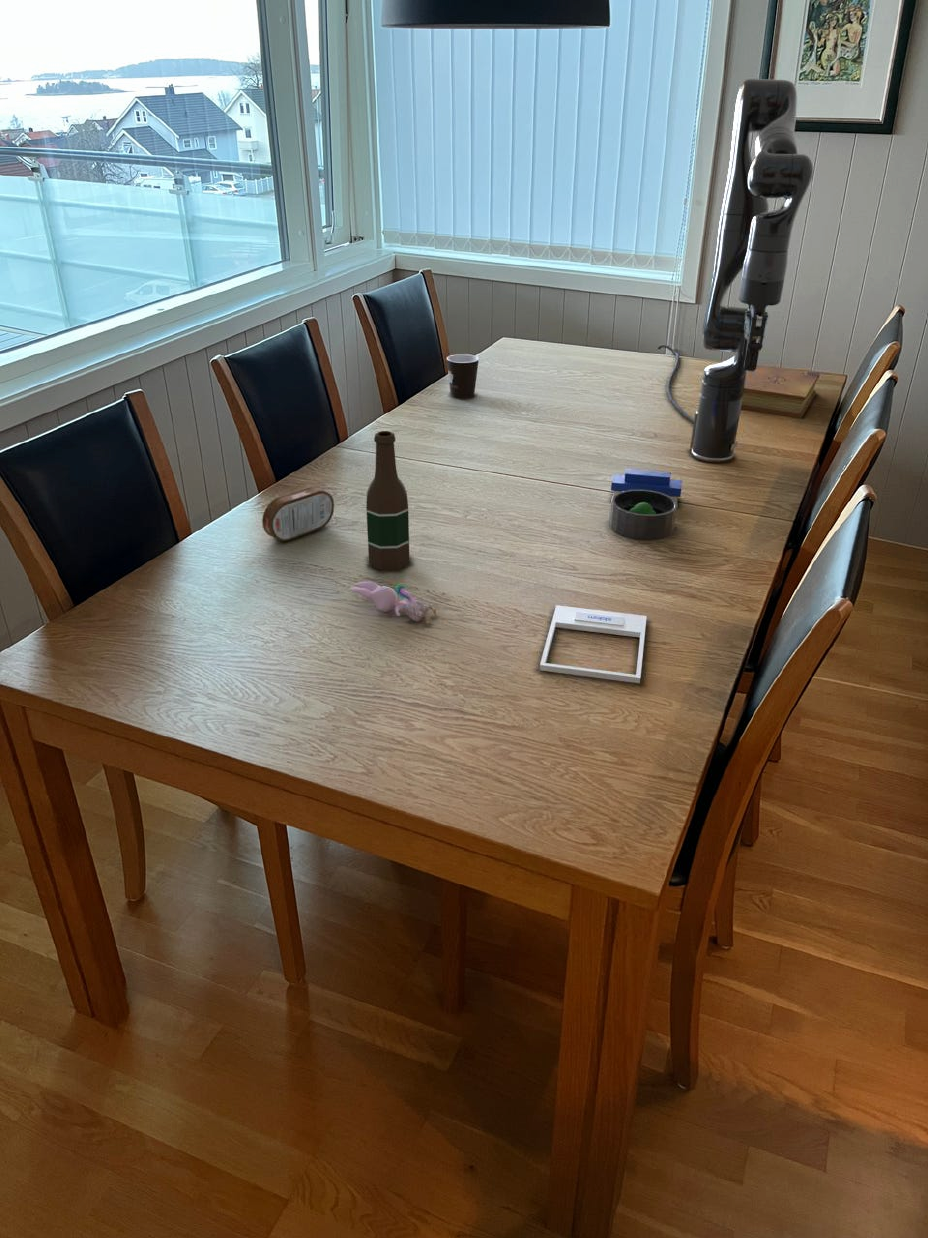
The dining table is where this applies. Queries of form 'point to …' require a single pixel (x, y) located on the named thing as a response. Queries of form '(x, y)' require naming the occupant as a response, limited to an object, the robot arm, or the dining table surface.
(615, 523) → the bowl
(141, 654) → the dining table surface
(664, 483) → the brush
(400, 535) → the beer bottle
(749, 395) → the diary
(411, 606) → the rabbit figure
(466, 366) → the coffee mug
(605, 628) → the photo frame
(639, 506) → the broccoli floret
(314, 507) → the tin
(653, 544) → the dining table surface
